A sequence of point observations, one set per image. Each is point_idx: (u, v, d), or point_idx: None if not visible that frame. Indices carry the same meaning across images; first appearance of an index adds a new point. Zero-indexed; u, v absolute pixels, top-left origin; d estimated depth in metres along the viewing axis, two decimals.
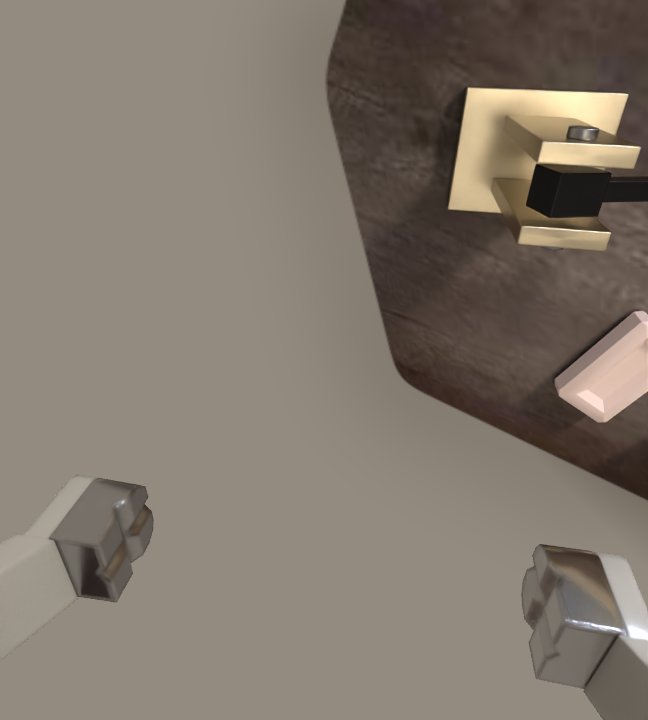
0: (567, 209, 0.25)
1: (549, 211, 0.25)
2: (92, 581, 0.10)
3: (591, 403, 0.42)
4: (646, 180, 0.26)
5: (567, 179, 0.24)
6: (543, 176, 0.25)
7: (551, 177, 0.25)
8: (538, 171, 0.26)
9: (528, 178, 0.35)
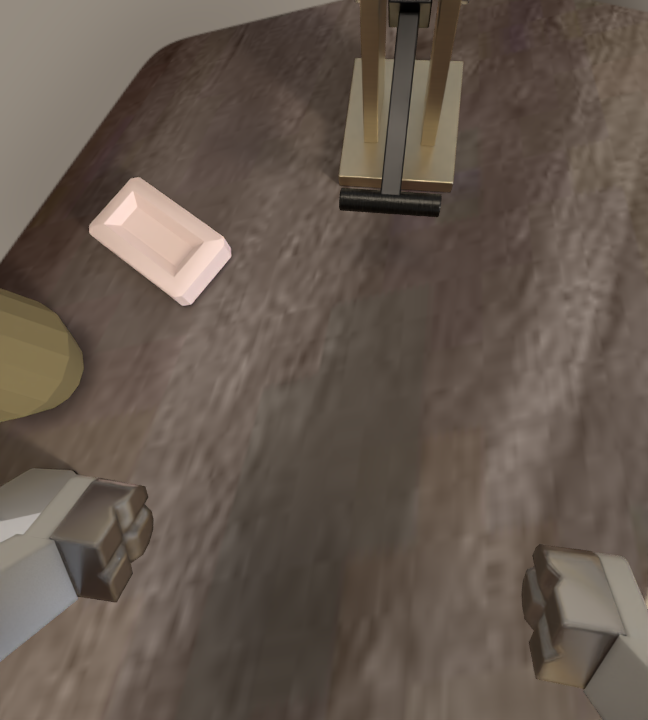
0: None
1: None
2: (92, 581, 0.10)
3: (118, 207, 0.35)
4: (413, 69, 0.26)
5: None
6: None
7: None
8: None
9: (381, 118, 0.36)
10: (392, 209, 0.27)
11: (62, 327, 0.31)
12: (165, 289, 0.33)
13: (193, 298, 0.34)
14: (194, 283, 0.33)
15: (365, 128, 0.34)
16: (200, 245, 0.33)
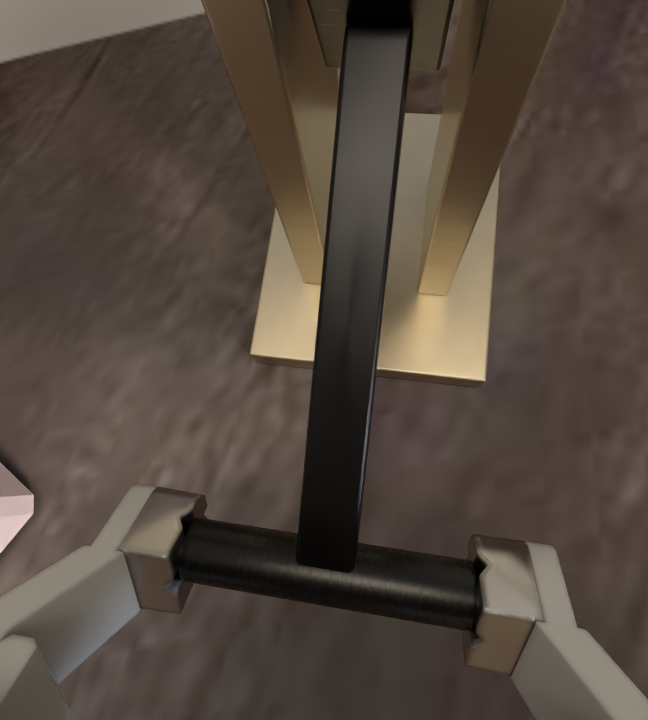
0: None
1: None
2: (157, 593, 0.09)
3: None
4: (392, 209, 0.08)
5: None
6: None
7: None
8: None
9: None
10: (331, 605, 0.09)
11: None
12: None
13: None
14: None
15: (301, 265, 0.16)
16: None
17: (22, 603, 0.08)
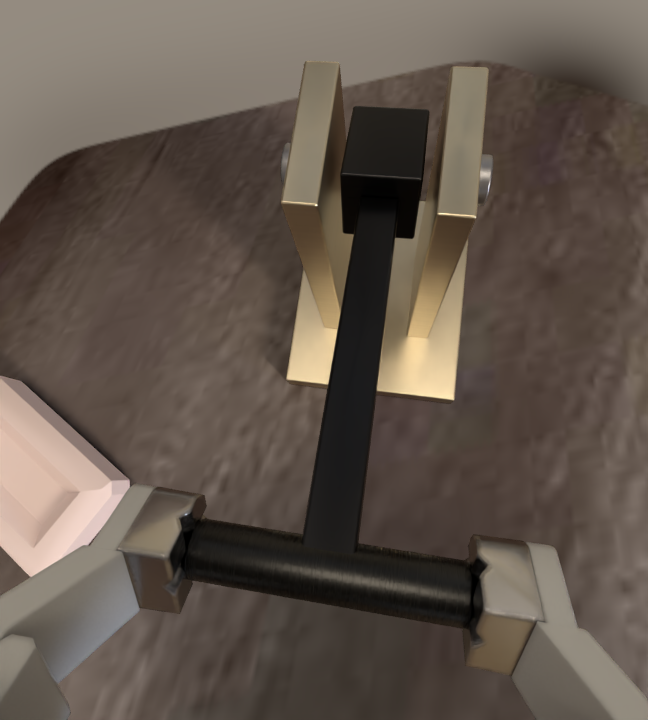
0: (365, 126, 0.14)
1: None
2: (157, 592, 0.09)
3: None
4: (388, 284, 0.12)
5: (418, 117, 0.14)
6: None
7: None
8: None
9: None
10: (332, 595, 0.09)
11: None
12: (21, 565, 0.22)
13: None
14: (65, 554, 0.22)
15: (324, 318, 0.23)
16: (74, 496, 0.22)
17: (21, 603, 0.08)
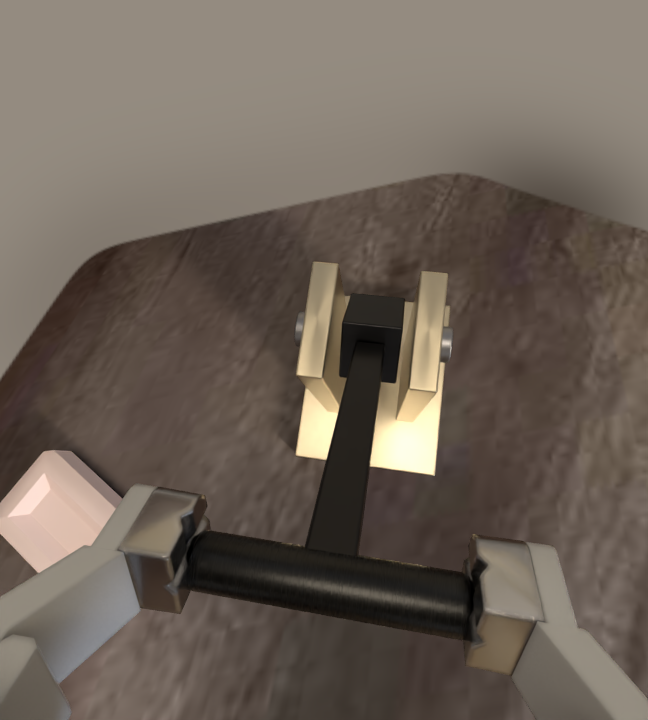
0: (359, 302, 0.19)
1: None
2: (158, 593, 0.09)
3: (26, 495, 0.28)
4: (379, 388, 0.15)
5: (397, 300, 0.20)
6: None
7: None
8: None
9: None
10: (334, 591, 0.09)
11: None
12: None
13: None
14: None
15: (326, 408, 0.27)
16: None
17: (22, 603, 0.08)
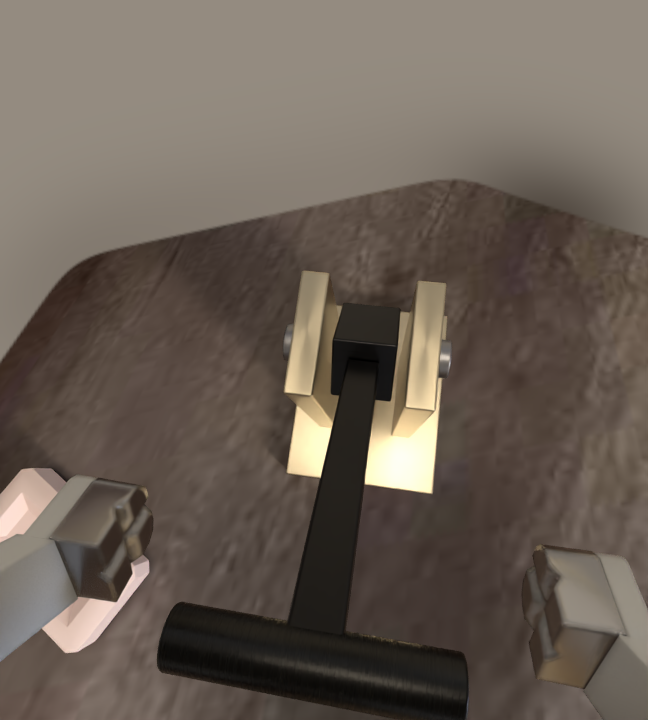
0: (352, 313, 0.18)
1: None
2: (92, 581, 0.10)
3: (2, 516, 0.27)
4: (371, 416, 0.14)
5: (392, 311, 0.18)
6: None
7: None
8: None
9: None
10: (318, 679, 0.09)
11: None
12: (56, 641, 0.25)
13: (97, 636, 0.27)
14: (94, 631, 0.26)
15: (319, 423, 0.26)
16: None
17: None
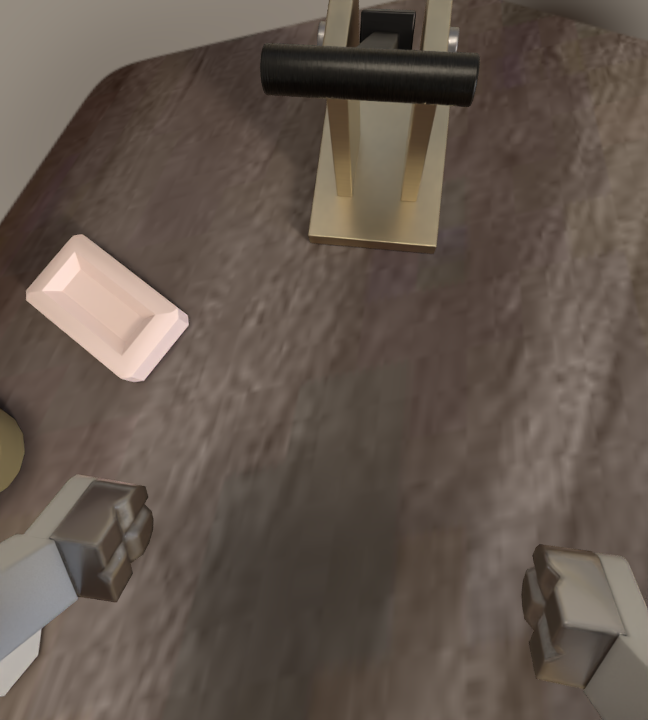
0: (375, 9, 0.21)
1: None
2: (92, 581, 0.10)
3: (59, 271, 0.31)
4: None
5: (409, 10, 0.22)
6: None
7: None
8: None
9: (357, 168, 0.31)
10: (376, 60, 0.12)
11: None
12: (112, 369, 0.29)
13: (145, 374, 0.31)
14: (145, 361, 0.30)
15: (337, 183, 0.30)
16: (150, 319, 0.30)
17: None
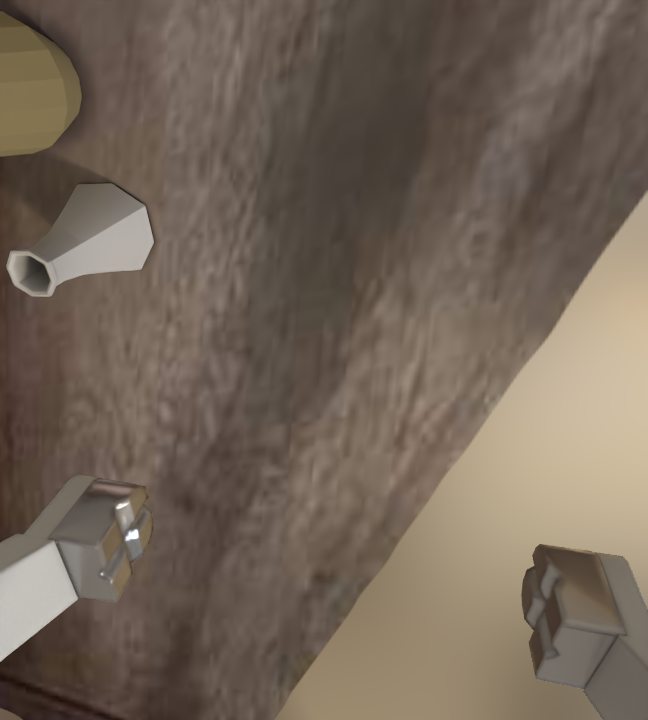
0: None
1: None
2: (92, 581, 0.10)
3: None
4: None
5: None
6: None
7: None
8: None
9: None
10: None
11: (40, 43, 0.30)
12: None
13: None
14: None
15: None
16: None
17: None
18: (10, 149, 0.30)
